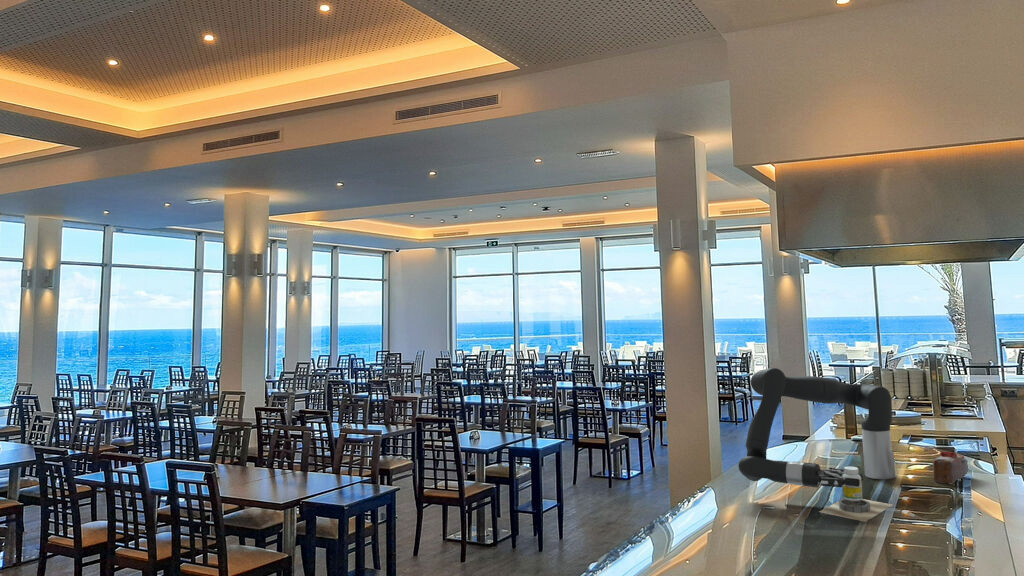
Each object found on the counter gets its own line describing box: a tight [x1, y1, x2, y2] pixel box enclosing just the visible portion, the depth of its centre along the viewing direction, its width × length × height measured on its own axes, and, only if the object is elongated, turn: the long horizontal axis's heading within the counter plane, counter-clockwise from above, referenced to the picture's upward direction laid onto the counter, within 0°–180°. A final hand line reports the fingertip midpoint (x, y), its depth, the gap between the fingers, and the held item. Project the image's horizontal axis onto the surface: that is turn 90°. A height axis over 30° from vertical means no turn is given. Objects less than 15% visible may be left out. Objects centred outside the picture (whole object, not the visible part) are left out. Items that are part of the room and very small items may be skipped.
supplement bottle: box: [842, 465, 863, 501], centre depth 209 cm, size 5×5×10 cm
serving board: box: [818, 497, 893, 523], centre depth 209 cm, size 20×14×1 cm
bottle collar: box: [837, 498, 870, 513], centre depth 209 cm, size 9×9×2 cm
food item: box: [932, 451, 969, 484], centre depth 235 cm, size 14×8×10 cm, turn 130°
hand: (860, 480), depth 208 cm, fingers closed on supplement bottle, 5 cm apart
